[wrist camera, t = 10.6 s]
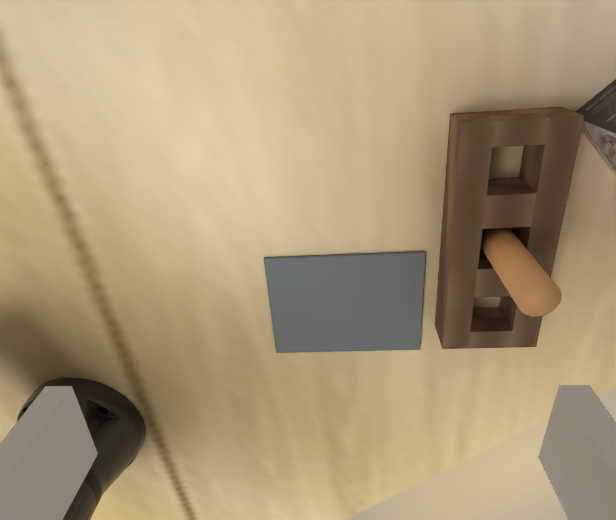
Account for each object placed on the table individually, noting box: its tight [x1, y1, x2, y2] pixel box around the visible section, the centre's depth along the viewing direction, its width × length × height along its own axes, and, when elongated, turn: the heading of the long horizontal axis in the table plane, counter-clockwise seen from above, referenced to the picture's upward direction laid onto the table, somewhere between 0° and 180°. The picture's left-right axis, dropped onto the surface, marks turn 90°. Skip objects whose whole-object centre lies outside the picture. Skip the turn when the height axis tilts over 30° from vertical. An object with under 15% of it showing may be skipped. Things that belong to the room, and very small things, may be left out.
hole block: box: [435, 107, 584, 349], centre depth 41 cm, size 9×22×4 cm, turn 4°
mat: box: [264, 251, 425, 353], centre depth 47 cm, size 16×12×1 cm
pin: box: [480, 228, 561, 317], centre depth 38 cm, size 3×3×12 cm
